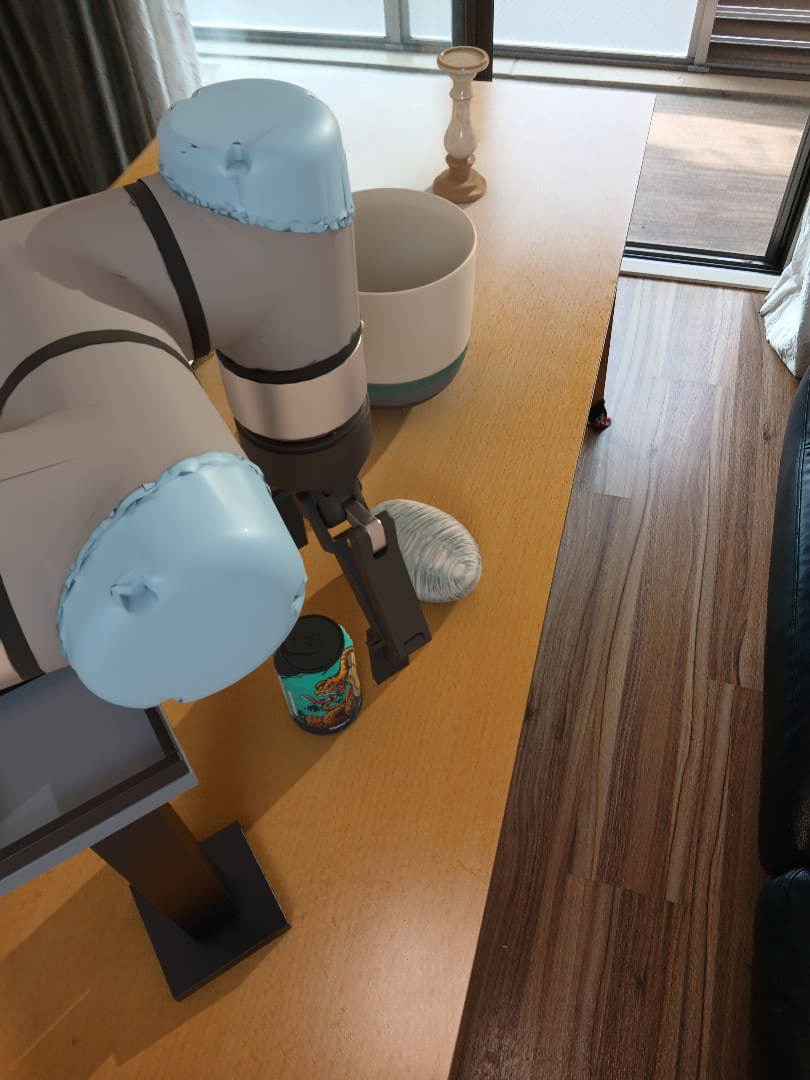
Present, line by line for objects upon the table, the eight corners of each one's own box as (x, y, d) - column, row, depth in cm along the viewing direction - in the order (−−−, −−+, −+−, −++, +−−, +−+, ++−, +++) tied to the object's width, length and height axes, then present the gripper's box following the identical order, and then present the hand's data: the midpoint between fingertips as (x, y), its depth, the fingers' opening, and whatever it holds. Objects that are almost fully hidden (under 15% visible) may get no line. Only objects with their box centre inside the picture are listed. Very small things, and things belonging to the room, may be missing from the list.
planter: (284, 413, 103) (254, 266, 86) (358, 320, 114) (344, 173, 97) (431, 461, 97) (429, 314, 80) (494, 358, 108) (504, 209, 91)
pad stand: (178, 1002, 64) (-28, 880, 35) (133, 889, 69) (-79, 703, 41) (292, 928, 67) (185, 760, 38) (240, 825, 72) (112, 610, 44)
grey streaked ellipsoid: (347, 561, 90) (334, 553, 80) (391, 487, 91) (383, 470, 81) (454, 624, 89) (454, 623, 79) (497, 549, 89) (503, 539, 79)
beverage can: (360, 739, 76) (349, 679, 67) (286, 738, 77) (265, 679, 67) (364, 672, 81) (354, 607, 71) (294, 672, 81) (275, 607, 71)
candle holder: (497, 187, 134) (505, 54, 118) (462, 210, 130) (465, 75, 114) (457, 169, 138) (460, 38, 121) (422, 190, 134) (419, 58, 118)
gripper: (501, 504, 39) (482, 700, 56) (247, 265, 52) (294, 484, 69) (374, 583, 37) (394, 763, 54) (139, 312, 49) (216, 527, 66)
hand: (338, 607), depth 61 cm, fingers open, 13 cm apart
